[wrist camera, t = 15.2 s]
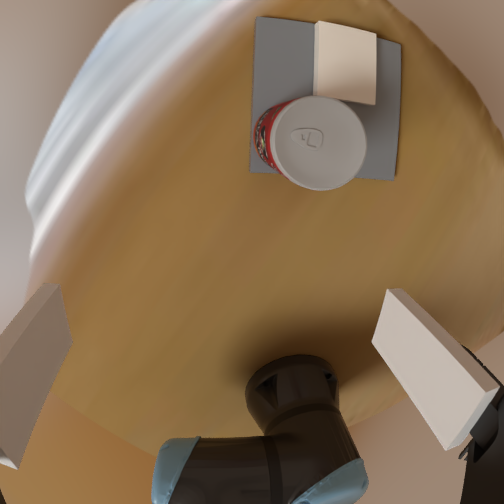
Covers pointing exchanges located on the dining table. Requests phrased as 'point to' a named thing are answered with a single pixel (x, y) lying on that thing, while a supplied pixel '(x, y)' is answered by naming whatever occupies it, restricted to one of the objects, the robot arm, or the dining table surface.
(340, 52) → the tile
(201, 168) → the dining table surface
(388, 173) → the slate board
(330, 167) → the canned food
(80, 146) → the dining table surface
